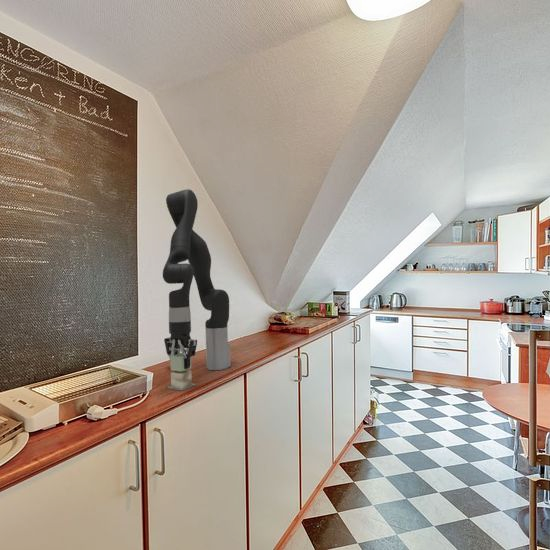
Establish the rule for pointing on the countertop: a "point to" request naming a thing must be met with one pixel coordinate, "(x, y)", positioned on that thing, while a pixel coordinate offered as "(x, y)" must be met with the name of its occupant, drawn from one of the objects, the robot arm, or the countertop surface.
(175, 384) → the birch block
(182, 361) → the sage block
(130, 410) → the countertop surface
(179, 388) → the build tile
